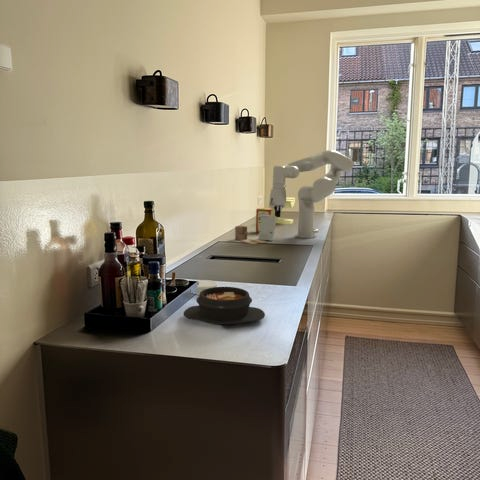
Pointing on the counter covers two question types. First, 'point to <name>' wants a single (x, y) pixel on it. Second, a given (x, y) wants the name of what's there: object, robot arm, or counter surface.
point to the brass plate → (253, 241)
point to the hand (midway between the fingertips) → (277, 216)
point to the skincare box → (267, 227)
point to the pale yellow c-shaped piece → (289, 204)
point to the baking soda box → (258, 216)
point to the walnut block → (241, 233)
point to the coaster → (205, 285)
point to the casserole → (224, 307)
